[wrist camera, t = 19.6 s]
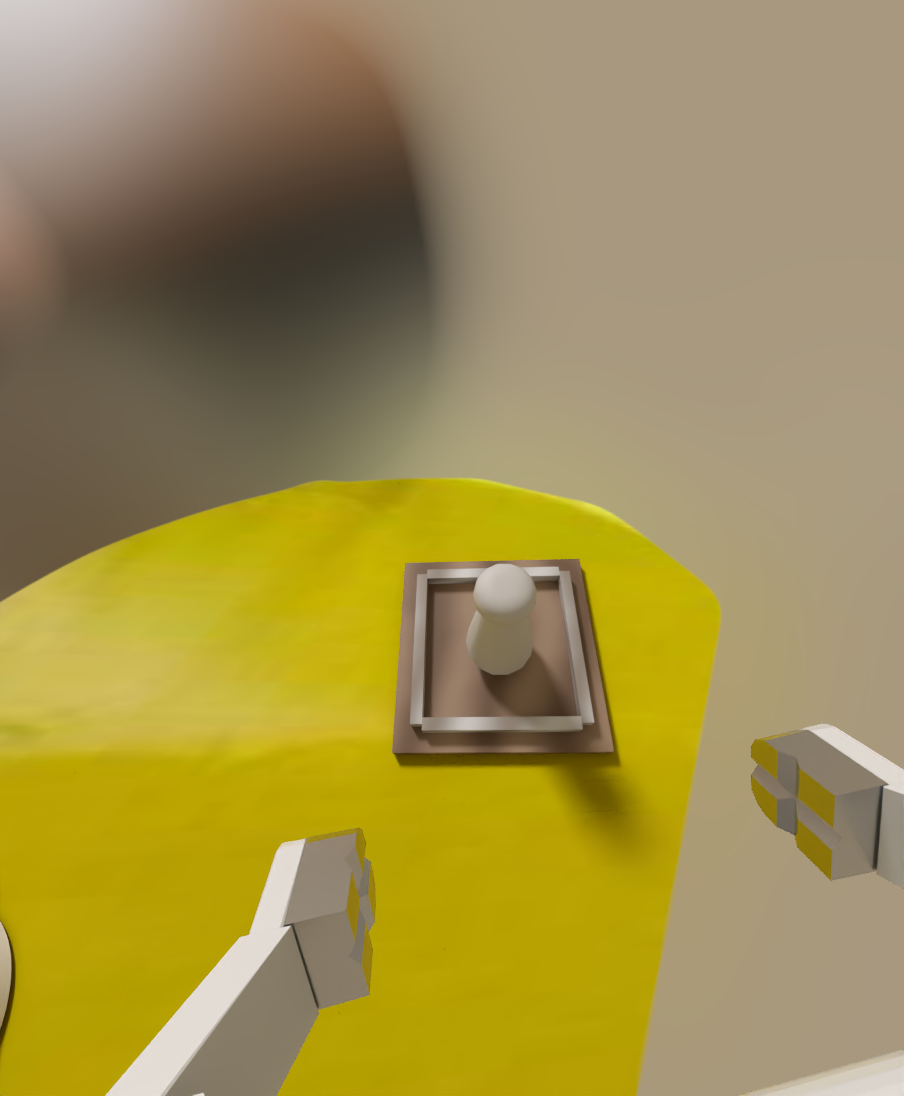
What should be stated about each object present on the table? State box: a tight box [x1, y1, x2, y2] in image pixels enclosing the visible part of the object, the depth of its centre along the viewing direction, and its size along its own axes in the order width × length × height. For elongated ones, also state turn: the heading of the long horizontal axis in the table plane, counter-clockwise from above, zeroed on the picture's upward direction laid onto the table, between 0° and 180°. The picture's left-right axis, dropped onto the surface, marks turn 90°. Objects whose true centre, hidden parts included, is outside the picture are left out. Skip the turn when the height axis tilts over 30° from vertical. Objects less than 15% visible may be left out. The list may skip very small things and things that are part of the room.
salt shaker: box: [466, 564, 537, 675], centre depth 34 cm, size 6×6×13 cm
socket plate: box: [392, 559, 614, 754], centre depth 39 cm, size 18×18×2 cm
